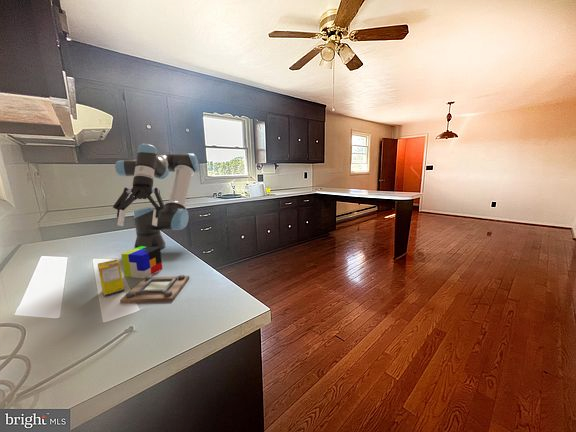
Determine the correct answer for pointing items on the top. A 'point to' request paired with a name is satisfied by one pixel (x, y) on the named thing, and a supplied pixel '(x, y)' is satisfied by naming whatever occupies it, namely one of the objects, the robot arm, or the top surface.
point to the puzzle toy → (141, 262)
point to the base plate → (156, 289)
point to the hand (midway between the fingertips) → (137, 225)
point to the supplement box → (110, 277)
